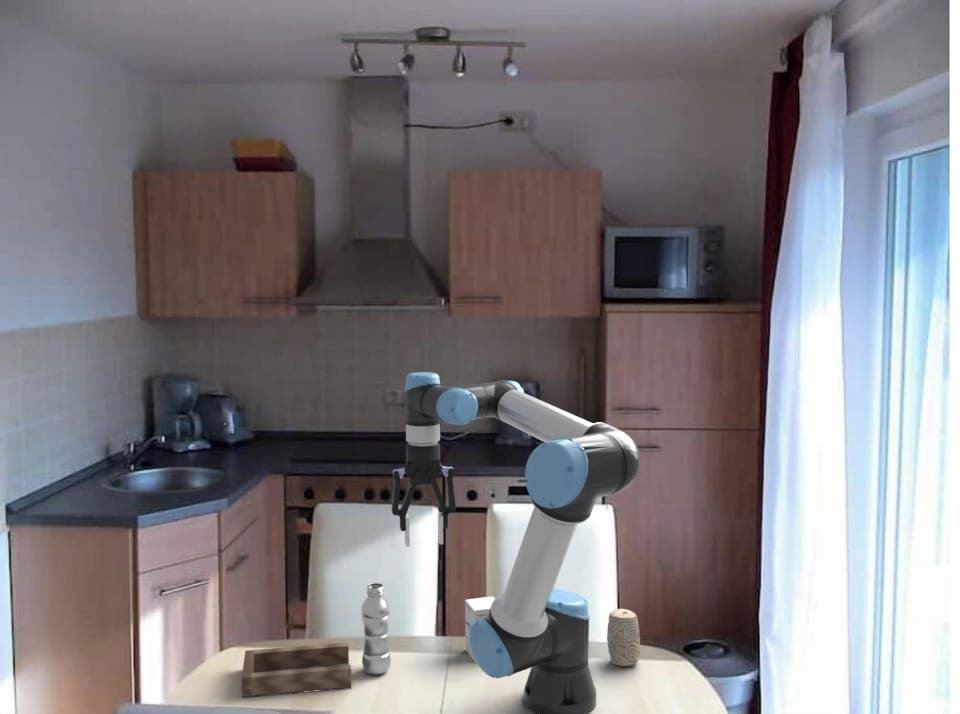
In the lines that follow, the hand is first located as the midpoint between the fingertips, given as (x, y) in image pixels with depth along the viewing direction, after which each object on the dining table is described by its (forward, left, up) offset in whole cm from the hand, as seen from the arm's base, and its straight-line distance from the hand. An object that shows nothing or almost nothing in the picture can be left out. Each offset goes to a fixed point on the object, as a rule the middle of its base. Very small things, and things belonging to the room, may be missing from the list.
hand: (424, 543), depth 210 cm
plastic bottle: (+8, +8, -29) cm, 31 cm away
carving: (-36, -27, -29) cm, 54 cm away
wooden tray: (+20, +20, -29) cm, 41 cm away
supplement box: (-7, -13, -29) cm, 33 cm away
